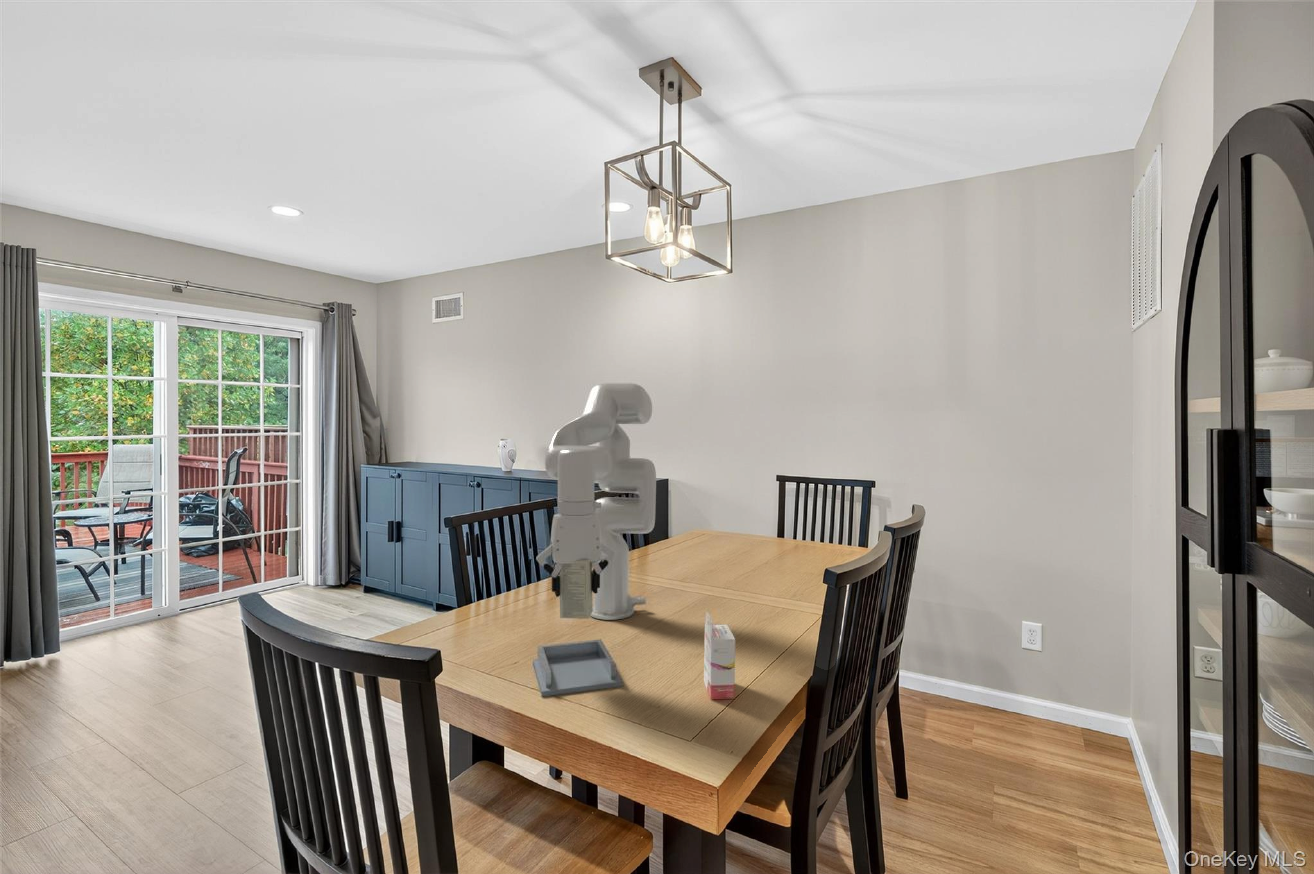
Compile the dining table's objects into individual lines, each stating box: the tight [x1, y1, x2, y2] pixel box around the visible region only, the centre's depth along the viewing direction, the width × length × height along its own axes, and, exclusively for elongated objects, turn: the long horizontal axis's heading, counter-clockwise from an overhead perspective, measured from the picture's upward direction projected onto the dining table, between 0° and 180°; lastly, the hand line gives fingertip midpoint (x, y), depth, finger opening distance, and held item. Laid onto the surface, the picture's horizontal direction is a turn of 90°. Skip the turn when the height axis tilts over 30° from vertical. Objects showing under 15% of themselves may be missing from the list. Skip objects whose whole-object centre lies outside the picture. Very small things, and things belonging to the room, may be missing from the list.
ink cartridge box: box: [703, 611, 736, 700], centre depth 121 cm, size 9×5×15 cm, turn 5°
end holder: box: [532, 639, 623, 697], centre depth 128 cm, size 16×16×4 cm
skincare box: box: [558, 560, 593, 620], centre depth 127 cm, size 6×4×12 cm
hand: (575, 592), depth 127 cm, fingers closed on skincare box, 7 cm apart
